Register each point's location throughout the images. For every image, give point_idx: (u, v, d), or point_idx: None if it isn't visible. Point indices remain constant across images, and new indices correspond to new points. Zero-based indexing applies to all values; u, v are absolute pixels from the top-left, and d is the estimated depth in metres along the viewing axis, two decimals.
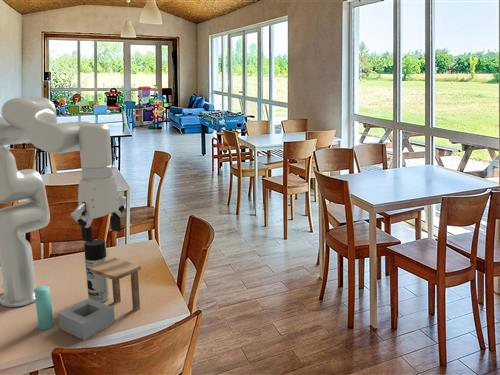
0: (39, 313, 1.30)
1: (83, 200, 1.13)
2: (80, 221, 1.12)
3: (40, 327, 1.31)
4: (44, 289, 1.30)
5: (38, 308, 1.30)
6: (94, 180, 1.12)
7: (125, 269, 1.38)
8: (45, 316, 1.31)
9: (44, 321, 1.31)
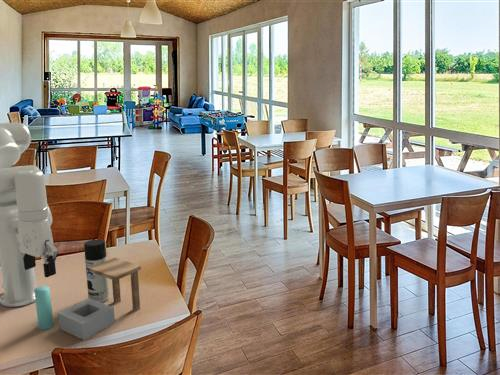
0: (39, 313, 1.30)
1: (46, 239, 1.24)
2: None
3: (40, 327, 1.31)
4: (44, 289, 1.30)
5: (38, 308, 1.30)
6: (47, 218, 1.26)
7: (125, 269, 1.38)
8: (45, 316, 1.31)
9: (44, 321, 1.31)
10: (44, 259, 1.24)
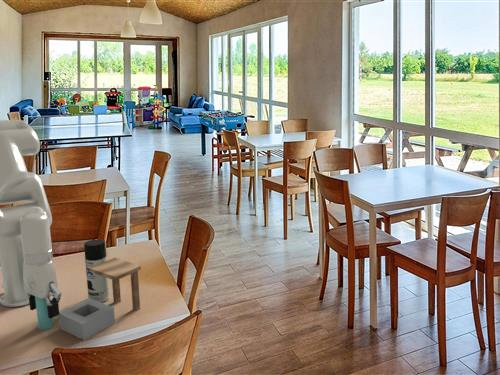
0: (39, 313, 1.30)
1: (50, 281, 1.27)
2: None
3: (40, 327, 1.31)
4: None
5: (38, 308, 1.30)
6: None
7: (125, 269, 1.38)
8: (45, 316, 1.31)
9: (44, 321, 1.31)
10: (48, 301, 1.27)
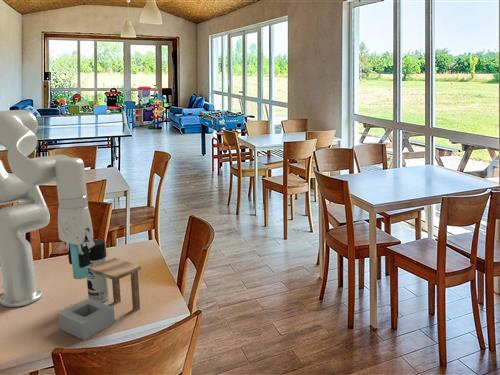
0: (74, 262, 1.27)
1: (86, 227, 1.23)
2: None
3: (75, 276, 1.28)
4: None
5: (73, 256, 1.26)
6: (87, 206, 1.25)
7: (125, 269, 1.38)
8: None
9: (79, 270, 1.27)
10: (80, 249, 1.25)
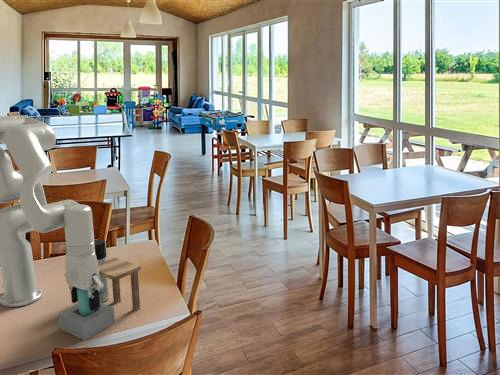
0: (82, 313, 1.30)
1: (93, 273, 1.27)
2: None
3: None
4: None
5: (81, 307, 1.30)
6: (94, 252, 1.28)
7: (125, 269, 1.38)
8: None
9: None
10: (90, 293, 1.27)
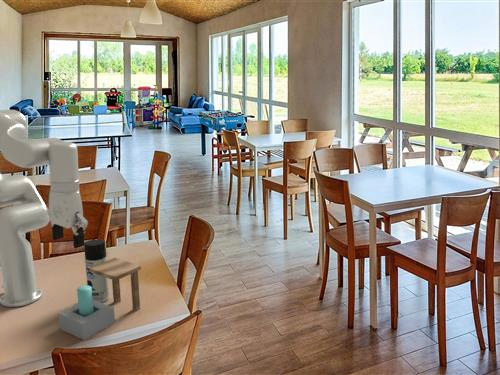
0: (82, 313, 1.30)
1: (76, 211, 1.26)
2: None
3: None
4: (87, 288, 1.31)
5: (81, 307, 1.30)
6: (78, 190, 1.28)
7: (125, 269, 1.38)
8: None
9: None
10: (74, 230, 1.26)
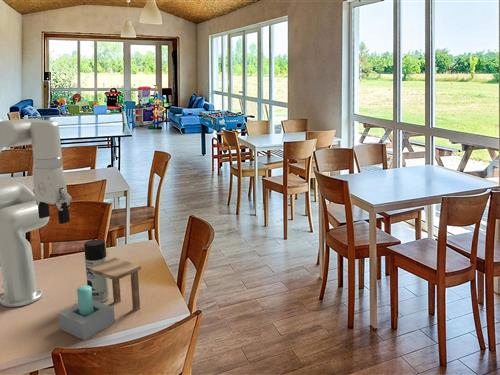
0: (82, 313, 1.30)
1: (60, 187, 1.29)
2: None
3: None
4: (86, 289, 1.31)
5: (81, 307, 1.30)
6: (62, 167, 1.31)
7: (125, 269, 1.38)
8: None
9: None
10: (58, 206, 1.29)
